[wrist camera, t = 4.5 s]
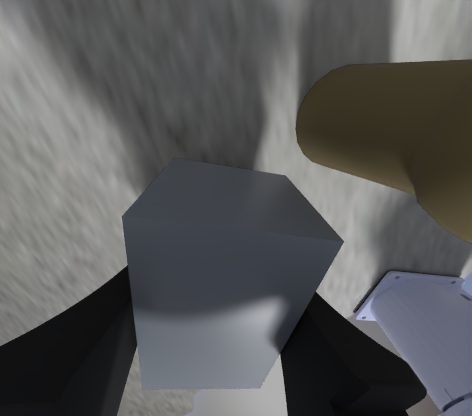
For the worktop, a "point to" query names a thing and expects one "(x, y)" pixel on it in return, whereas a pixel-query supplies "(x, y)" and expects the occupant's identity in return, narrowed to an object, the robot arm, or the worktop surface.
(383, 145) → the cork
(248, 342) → the grey rectangular block
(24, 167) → the worktop surface
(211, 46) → the worktop surface
